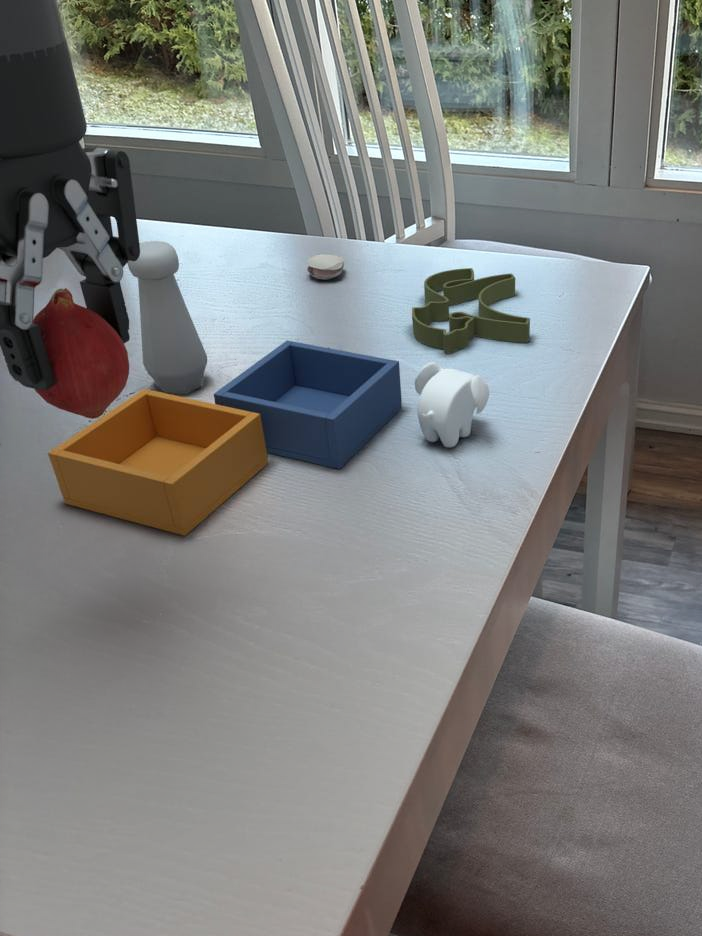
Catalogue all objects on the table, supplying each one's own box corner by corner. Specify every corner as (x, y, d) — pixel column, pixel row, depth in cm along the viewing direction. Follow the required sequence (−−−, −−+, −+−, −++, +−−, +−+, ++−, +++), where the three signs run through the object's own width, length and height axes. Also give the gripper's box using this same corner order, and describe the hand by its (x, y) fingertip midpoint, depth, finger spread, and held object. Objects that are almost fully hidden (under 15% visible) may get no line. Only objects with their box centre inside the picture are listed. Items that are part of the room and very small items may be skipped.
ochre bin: (64, 503, 76) (46, 452, 73) (156, 436, 84) (143, 388, 81) (185, 536, 72) (171, 484, 69) (269, 463, 80) (260, 413, 77)
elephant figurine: (508, 426, 85) (509, 363, 81) (457, 466, 80) (455, 400, 76) (445, 407, 88) (443, 345, 84) (392, 444, 83) (388, 379, 79)
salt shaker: (143, 378, 92) (108, 240, 84) (202, 366, 94) (173, 229, 86) (157, 403, 88) (122, 261, 80) (218, 390, 90) (190, 250, 82)
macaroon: (301, 278, 112) (298, 256, 110) (331, 265, 115) (328, 244, 113) (327, 286, 110) (325, 264, 108) (357, 273, 113) (355, 251, 111)
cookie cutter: (533, 350, 97) (534, 331, 95) (415, 355, 96) (414, 336, 95) (513, 284, 110) (513, 266, 109) (409, 288, 109) (408, 270, 108)
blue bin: (222, 442, 83) (212, 393, 80) (293, 386, 91) (286, 339, 88) (339, 469, 79) (333, 419, 76) (402, 408, 88) (399, 360, 84)
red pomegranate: (60, 450, 56) (18, 318, 51) (31, 411, 60) (-11, 284, 55) (155, 422, 59) (124, 295, 54) (122, 387, 62) (90, 264, 57)
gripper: (30, 7, 52) (107, 309, 63) (-207, 54, 42) (-66, 403, 53) (141, 17, 50) (201, 329, 61) (-80, 70, 40) (39, 430, 51)
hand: (76, 362), depth 57 cm, fingers closed on red pomegranate, 6 cm apart
